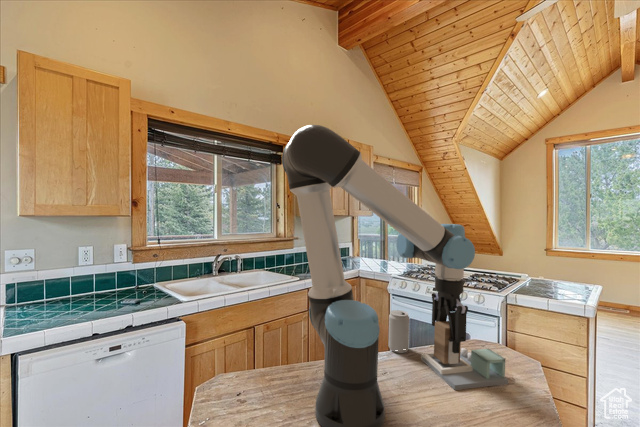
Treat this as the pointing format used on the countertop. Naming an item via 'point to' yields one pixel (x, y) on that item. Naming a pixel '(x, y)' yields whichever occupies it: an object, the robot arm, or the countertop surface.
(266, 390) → the countertop surface
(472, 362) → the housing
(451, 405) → the countertop surface
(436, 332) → the block
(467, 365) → the jig board
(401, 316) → the beverage can
